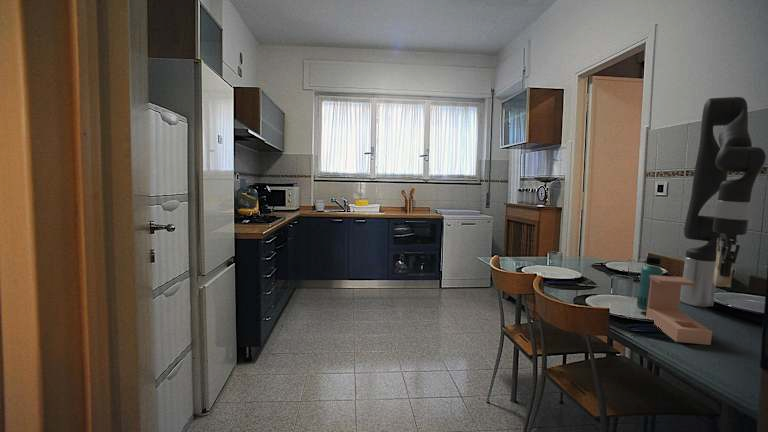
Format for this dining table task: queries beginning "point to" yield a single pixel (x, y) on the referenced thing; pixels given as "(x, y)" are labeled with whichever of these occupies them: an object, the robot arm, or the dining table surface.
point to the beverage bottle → (647, 281)
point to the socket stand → (673, 311)
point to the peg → (717, 278)
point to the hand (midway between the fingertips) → (722, 274)
